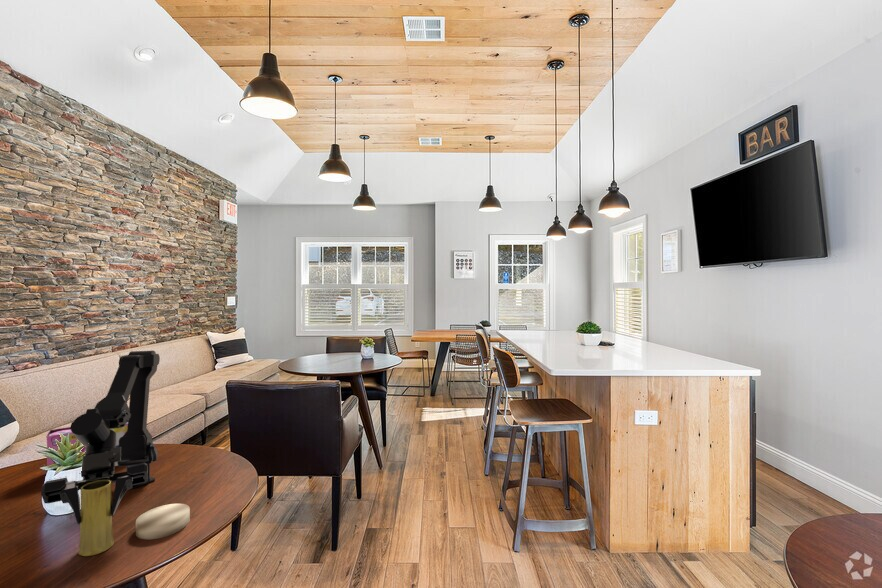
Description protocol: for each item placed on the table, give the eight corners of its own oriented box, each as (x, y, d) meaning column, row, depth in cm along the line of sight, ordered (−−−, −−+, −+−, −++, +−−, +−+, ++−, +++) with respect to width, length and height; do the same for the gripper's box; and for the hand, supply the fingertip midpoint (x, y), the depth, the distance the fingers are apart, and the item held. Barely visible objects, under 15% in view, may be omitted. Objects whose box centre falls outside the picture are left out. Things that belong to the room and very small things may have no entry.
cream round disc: (125, 532, 99) (125, 520, 99) (173, 511, 109) (173, 499, 109) (152, 545, 94) (152, 532, 94) (199, 521, 104) (199, 509, 104)
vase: (92, 540, 96) (91, 479, 96) (120, 539, 96) (120, 478, 96) (71, 557, 90) (70, 491, 90) (101, 556, 90) (100, 490, 90)
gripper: (42, 445, 91) (30, 518, 82) (147, 429, 101) (147, 492, 92) (50, 468, 97) (39, 538, 88) (147, 451, 108) (147, 512, 99)
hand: (95, 519), depth 92 cm, fingers closed on vase, 5 cm apart
